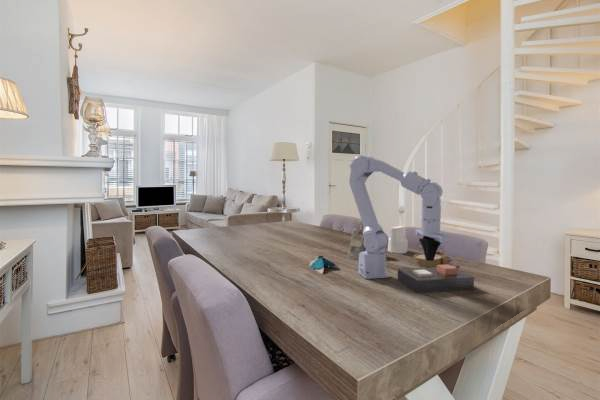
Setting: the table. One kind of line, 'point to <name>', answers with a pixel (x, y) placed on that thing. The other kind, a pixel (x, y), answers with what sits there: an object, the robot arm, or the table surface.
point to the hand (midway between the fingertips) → (429, 260)
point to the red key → (446, 269)
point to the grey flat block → (435, 281)
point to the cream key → (422, 273)
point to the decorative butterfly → (321, 264)
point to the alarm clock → (438, 260)
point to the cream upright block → (398, 240)
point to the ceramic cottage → (357, 244)
